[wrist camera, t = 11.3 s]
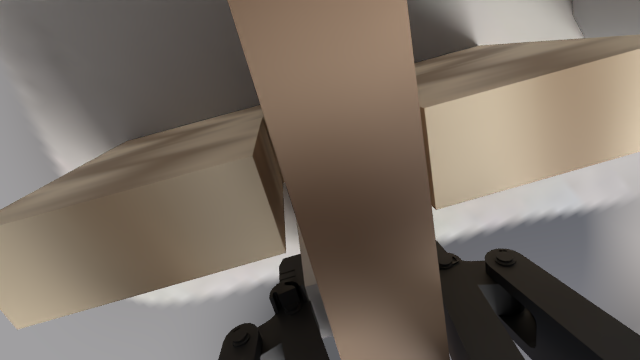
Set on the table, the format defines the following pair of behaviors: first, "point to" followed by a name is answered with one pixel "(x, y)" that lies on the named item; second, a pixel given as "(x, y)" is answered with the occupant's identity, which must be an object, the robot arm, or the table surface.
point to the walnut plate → (353, 165)
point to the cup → (607, 17)
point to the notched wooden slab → (267, 181)
